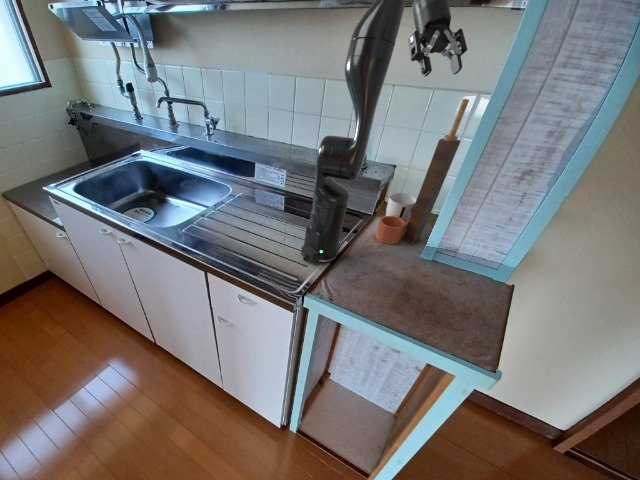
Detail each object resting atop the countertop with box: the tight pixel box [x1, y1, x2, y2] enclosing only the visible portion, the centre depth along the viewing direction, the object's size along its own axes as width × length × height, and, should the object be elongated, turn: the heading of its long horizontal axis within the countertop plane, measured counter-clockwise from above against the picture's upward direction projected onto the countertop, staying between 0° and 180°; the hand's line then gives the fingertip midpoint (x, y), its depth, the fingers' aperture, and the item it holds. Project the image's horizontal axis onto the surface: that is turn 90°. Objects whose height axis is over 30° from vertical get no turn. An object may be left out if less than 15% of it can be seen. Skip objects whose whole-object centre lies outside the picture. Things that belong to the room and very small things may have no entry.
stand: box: [401, 137, 462, 245], centre depth 93 cm, size 4×4×30 cm
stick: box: [443, 98, 470, 142], centre depth 80 cm, size 3×3×9 cm
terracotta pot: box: [375, 215, 407, 245], centre depth 102 cm, size 7×7×6 cm
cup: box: [385, 192, 417, 223], centre depth 106 cm, size 8×8×10 cm
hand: (442, 73), depth 82 cm, fingers open, 8 cm apart
